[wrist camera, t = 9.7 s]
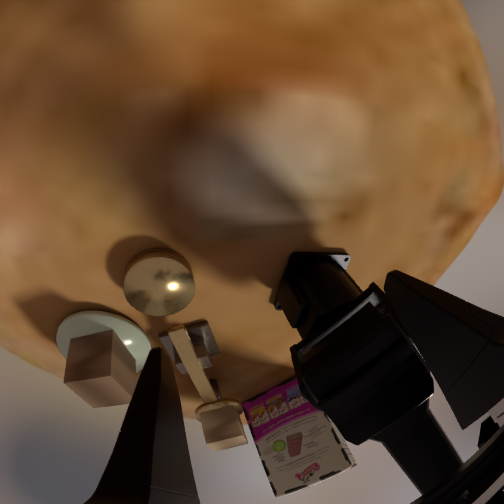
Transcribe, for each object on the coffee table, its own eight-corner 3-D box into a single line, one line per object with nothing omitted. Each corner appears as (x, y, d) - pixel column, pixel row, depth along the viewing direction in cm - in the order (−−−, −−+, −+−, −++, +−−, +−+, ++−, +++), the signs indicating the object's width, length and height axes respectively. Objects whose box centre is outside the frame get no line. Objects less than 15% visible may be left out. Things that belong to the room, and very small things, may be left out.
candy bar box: (255, 409, 41) (287, 495, 28) (240, 403, 38) (273, 498, 25) (315, 378, 40) (359, 465, 27) (304, 369, 37) (352, 467, 24)
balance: (114, 259, 20) (106, 302, 16) (181, 239, 20) (187, 279, 17) (197, 395, 34) (204, 426, 30) (236, 385, 34) (246, 415, 31)
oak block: (233, 404, 28) (242, 435, 25) (239, 415, 30) (248, 443, 27) (199, 412, 27) (206, 443, 24) (208, 423, 30) (215, 451, 26)
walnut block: (113, 329, 22) (110, 375, 18) (135, 359, 25) (137, 402, 21) (70, 338, 21) (63, 382, 17) (95, 367, 24) (93, 408, 20)
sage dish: (148, 308, 23) (148, 316, 22) (154, 370, 28) (154, 377, 27) (46, 304, 20) (44, 312, 19) (71, 367, 25) (71, 374, 24)
